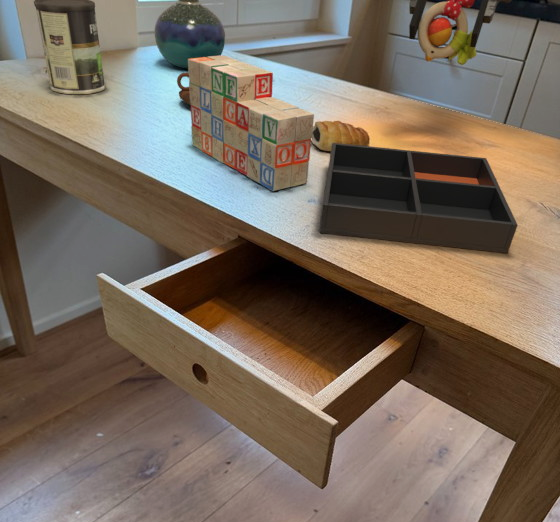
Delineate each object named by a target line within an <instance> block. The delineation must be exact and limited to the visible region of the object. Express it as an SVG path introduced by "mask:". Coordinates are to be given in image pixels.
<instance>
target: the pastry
mask: <svg viewBox="0 0 560 522" xmlns="http://www.w3.org/2000/svg"><path fill="white" fill-rule="evenodd" d="M370 140H371V139H370V136H369V133H368V131H367V130H365V129H364V128H362V127H361V126H357V127H355V126H354V125H353V124H351V123H346V122H342V121H341V120H334V121H331V120H323V121H319V120H318V121H315V123H314V124H313V132H312V138H311V143H312V144H313V145H314V146H316V147H317V148H318V149H319V150H321V151H325V152H331V147H332V143H340V144H350V145H360V146H370Z"/></svg>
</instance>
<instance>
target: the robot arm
mask: <svg viewBox="0 0 560 522" xmlns="http://www.w3.org/2000/svg"><path fill="white" fill-rule="evenodd" d="M427 2H428V0H410V1H409V9H408V11H409V14H410V15H412V16H411V19H410V23H409V25H408V30H409V31H408V33H409V40H416V36H417V34H418V26H419V23H420V20H421V18H422V17H423V15H424V12H425V8H426V5H427ZM501 2H504V4H505V3H506V4H508V3H511V2H512V0H481V3H480V5H479V9H478V12H477V16H476V18H475V22H474V26H473V28H472V30H473V31H472V30H471V31H472V36H471V44H470V47H475V48H476V47H477V44H478V41H479V38H480V33H481V30H482V28H483V24H491V22H492V21H493V18H494V15H495V11H496V8H497V5H498V4H499V3H501Z"/></svg>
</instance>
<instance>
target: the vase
mask: <svg viewBox="0 0 560 522" xmlns="http://www.w3.org/2000/svg"><path fill="white" fill-rule="evenodd" d="M154 40H155V43H156V47H157V49H158V51H159V54H160V55H161V57H163V58H164V60H165V61H166V62H167V63H169V64H170V65H172V66H174V67H177V68H180V69H186V70H188V59H191V58H200V57H208V56H221V55H223V52H224V48H225V44H226V31H225V27H224V25H223V23H222V21H221V19H220V18H219V17H218V15H217V14H216V13H214V12H213V11H212V10H211V9H210V8H208V7H207V6H205V5H204V4H202V3H201V2H200V0H178V1H176V2H175V3H173V4H171V5H170V6H169V7H167V8H166V9H165V10H163V11H162V12H161V14H159V16H158V17H157V19H156V21H155V25H154Z"/></svg>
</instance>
